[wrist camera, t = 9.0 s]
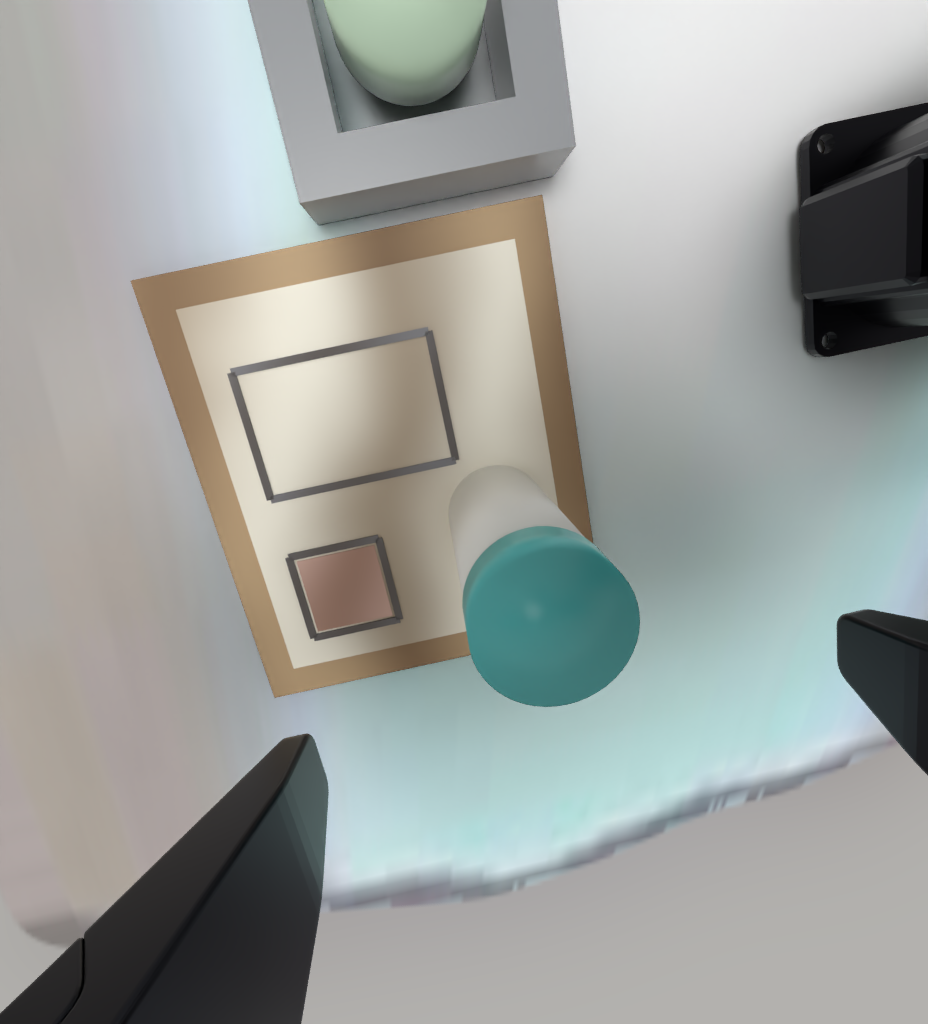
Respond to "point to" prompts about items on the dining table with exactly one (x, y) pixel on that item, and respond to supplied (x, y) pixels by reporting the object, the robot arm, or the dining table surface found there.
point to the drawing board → (366, 424)
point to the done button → (407, 45)
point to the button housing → (425, 139)
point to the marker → (536, 593)
